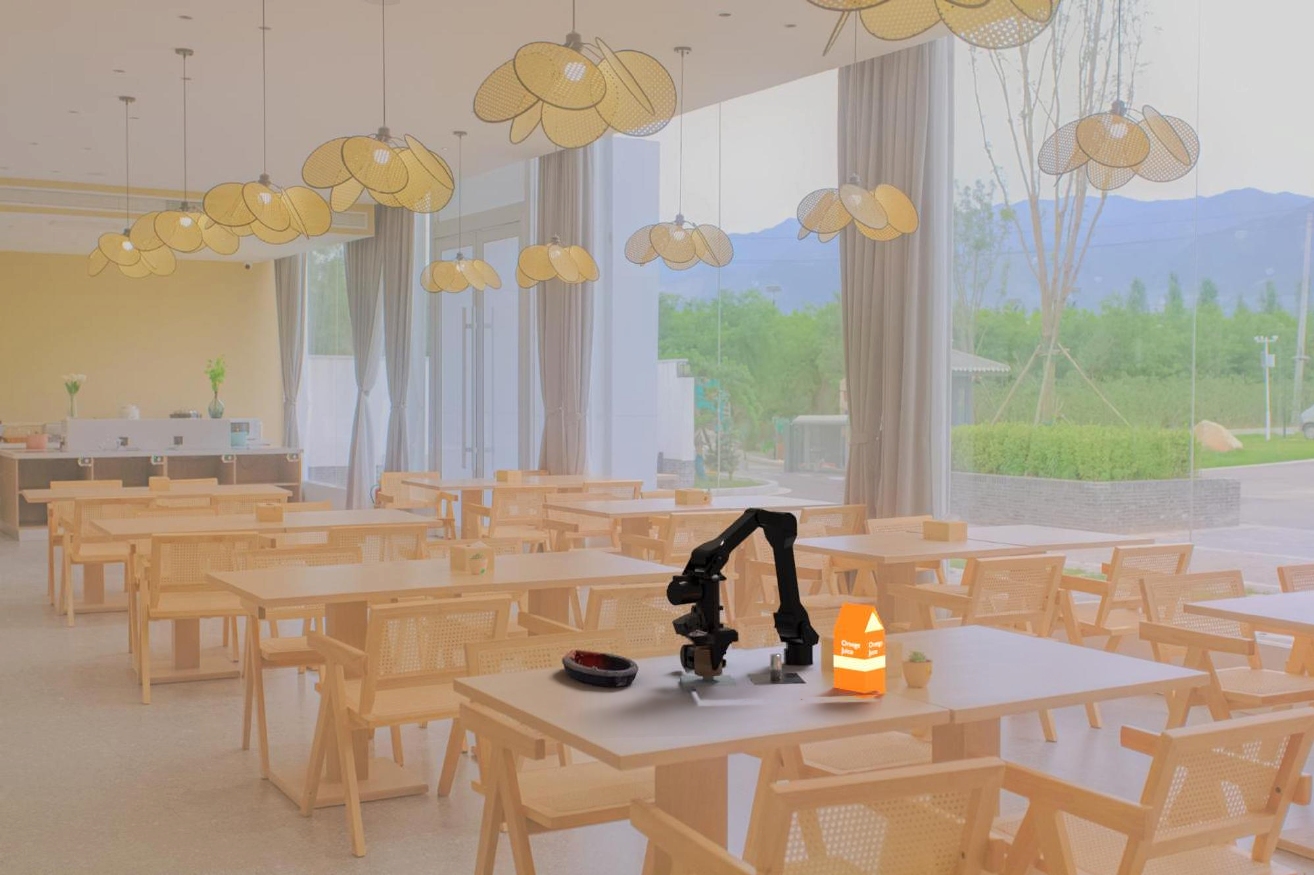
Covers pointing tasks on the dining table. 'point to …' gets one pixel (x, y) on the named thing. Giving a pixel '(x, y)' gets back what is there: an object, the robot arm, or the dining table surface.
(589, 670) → the dish
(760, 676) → the stand
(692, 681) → the grey peg base
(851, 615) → the orange juice
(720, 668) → the sleeve
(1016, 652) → the dining table surface
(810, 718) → the dining table surface
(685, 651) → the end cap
